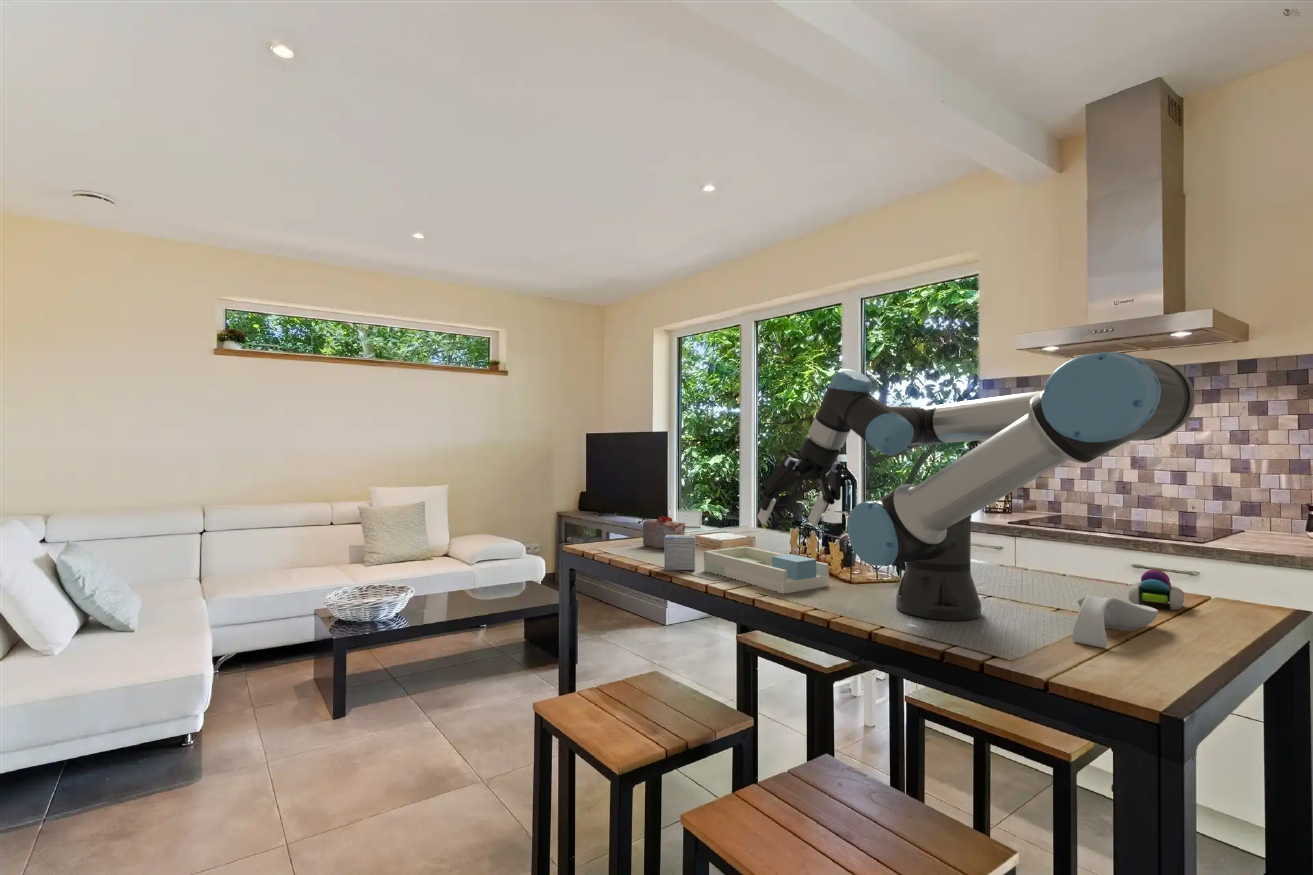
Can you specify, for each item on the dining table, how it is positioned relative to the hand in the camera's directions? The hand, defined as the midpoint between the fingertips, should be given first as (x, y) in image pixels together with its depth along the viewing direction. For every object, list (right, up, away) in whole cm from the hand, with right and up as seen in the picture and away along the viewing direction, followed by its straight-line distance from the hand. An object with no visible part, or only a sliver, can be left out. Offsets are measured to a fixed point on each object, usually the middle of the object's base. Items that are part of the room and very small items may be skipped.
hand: (787, 521), depth 140 cm
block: (+2, -13, +4) cm, 13 cm away
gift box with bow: (-27, -16, +57) cm, 65 cm away
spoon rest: (+50, -15, -31) cm, 60 cm away
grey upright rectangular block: (-23, -16, +23) cm, 36 cm away
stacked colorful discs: (+72, -15, -13) cm, 75 cm away
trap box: (-3, -15, +12) cm, 20 cm away
